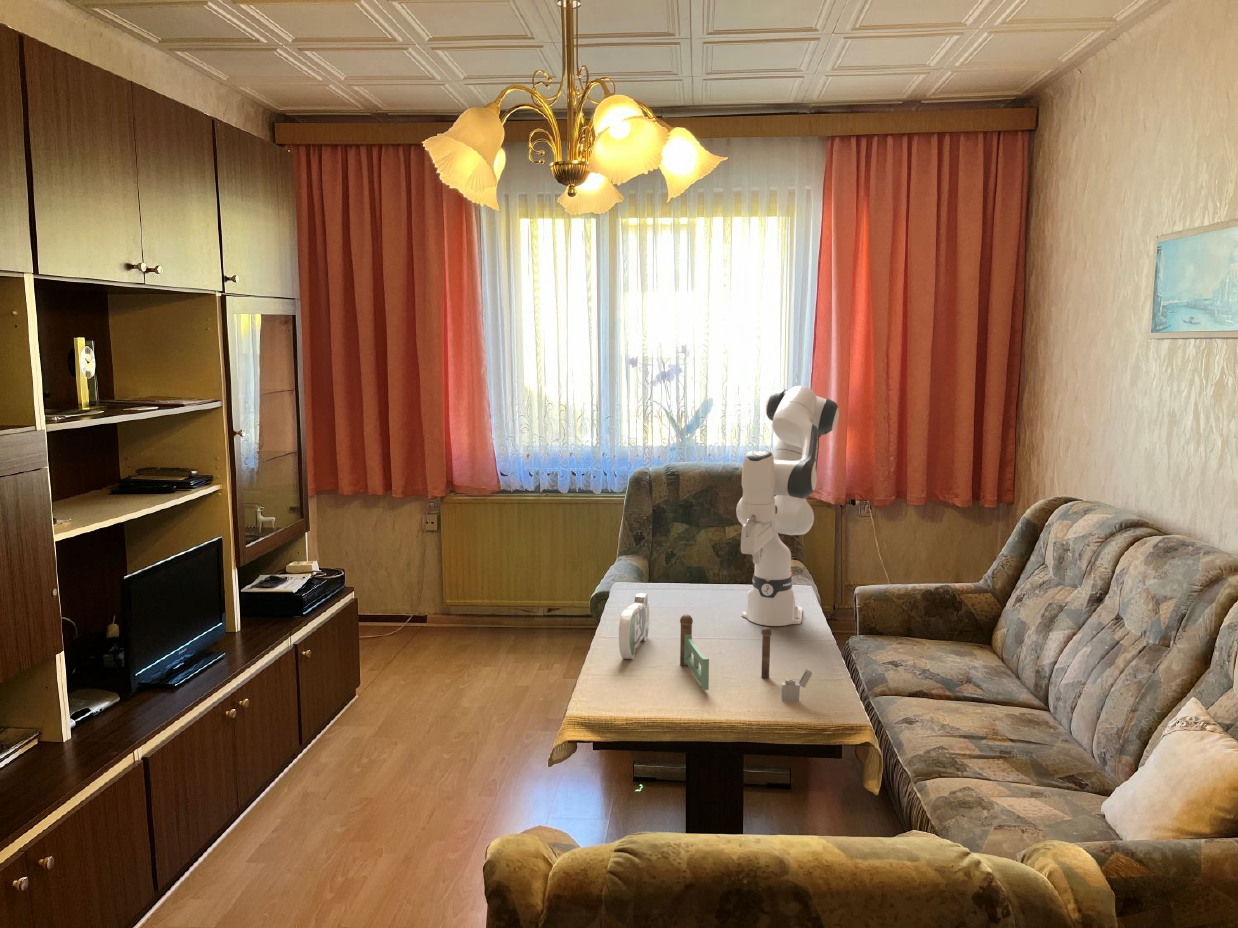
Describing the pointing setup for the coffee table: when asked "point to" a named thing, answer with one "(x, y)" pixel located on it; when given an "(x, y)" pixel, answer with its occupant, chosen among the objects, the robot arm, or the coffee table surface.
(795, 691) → the lighter
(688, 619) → the gate posts
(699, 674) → the gate
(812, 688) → the coffee table surface
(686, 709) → the coffee table surface
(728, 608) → the coffee table surface
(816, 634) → the coffee table surface
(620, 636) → the cutout
